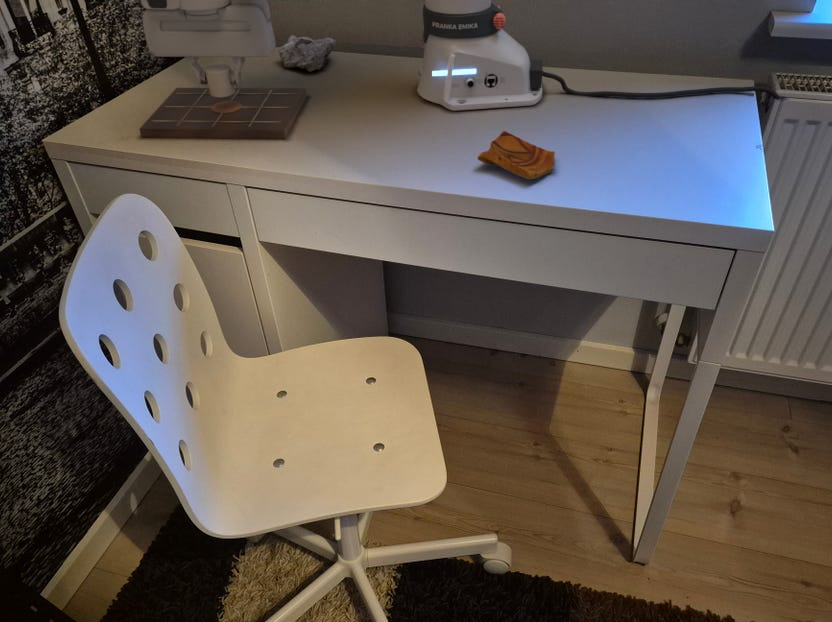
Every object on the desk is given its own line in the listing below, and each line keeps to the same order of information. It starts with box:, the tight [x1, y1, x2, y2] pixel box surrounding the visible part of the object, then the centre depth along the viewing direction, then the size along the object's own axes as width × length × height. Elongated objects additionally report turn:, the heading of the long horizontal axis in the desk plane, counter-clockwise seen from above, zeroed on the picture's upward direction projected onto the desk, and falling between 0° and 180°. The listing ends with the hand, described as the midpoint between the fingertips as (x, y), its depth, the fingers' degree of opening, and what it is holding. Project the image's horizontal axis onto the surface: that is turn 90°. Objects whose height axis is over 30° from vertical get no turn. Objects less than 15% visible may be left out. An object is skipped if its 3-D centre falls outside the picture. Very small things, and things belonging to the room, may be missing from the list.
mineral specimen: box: [277, 34, 337, 72], centre depth 132 cm, size 6×11×12 cm
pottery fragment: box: [477, 130, 556, 180], centre depth 97 cm, size 10×5×10 cm
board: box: [139, 87, 308, 140], centre depth 115 cm, size 24×18×2 cm
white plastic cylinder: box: [204, 63, 236, 97], centre depth 111 cm, size 4×4×4 cm
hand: (220, 83), depth 111 cm, fingers closed on white plastic cylinder, 4 cm apart
